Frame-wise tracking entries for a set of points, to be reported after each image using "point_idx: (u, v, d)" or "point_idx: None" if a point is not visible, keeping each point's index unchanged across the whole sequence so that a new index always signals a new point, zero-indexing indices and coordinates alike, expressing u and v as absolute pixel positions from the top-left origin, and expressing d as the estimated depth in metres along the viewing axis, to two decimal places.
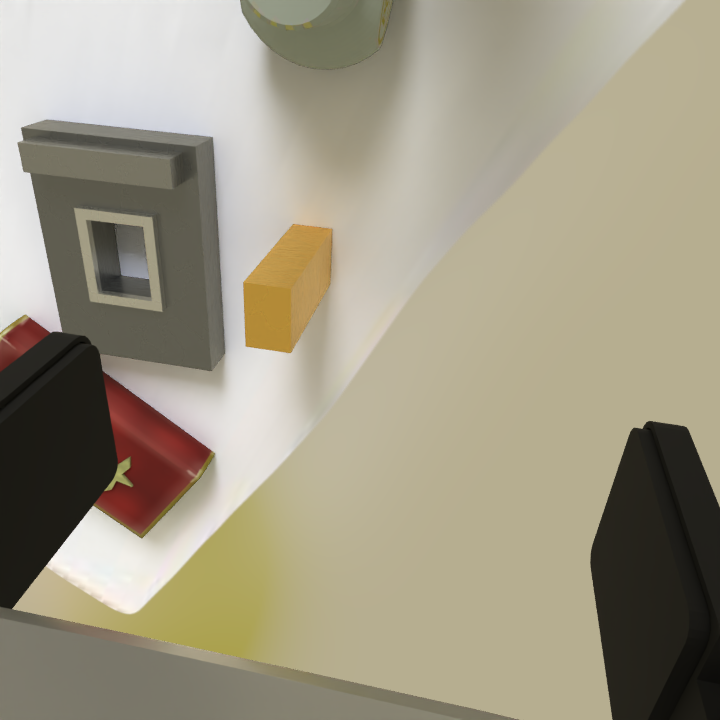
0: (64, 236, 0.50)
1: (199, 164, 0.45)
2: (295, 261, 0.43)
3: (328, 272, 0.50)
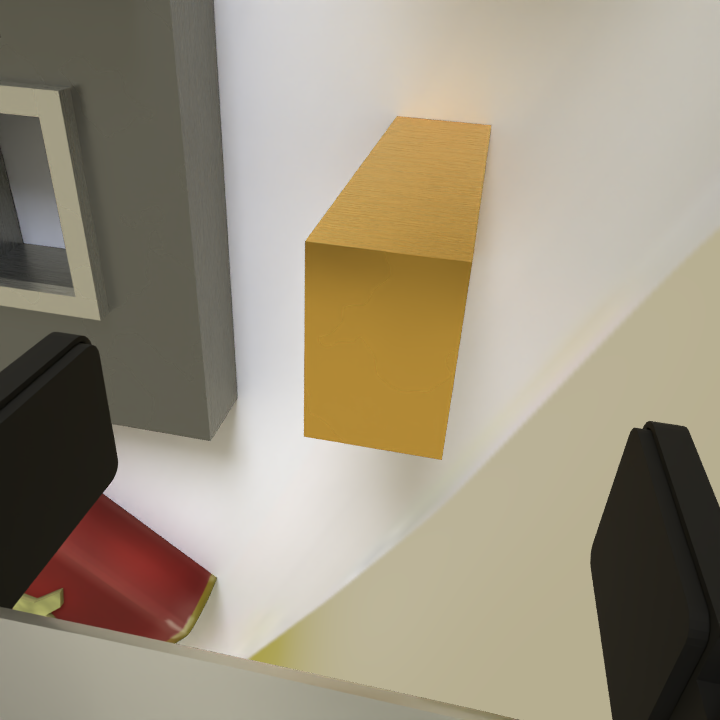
0: None
1: None
2: (443, 186, 0.15)
3: None
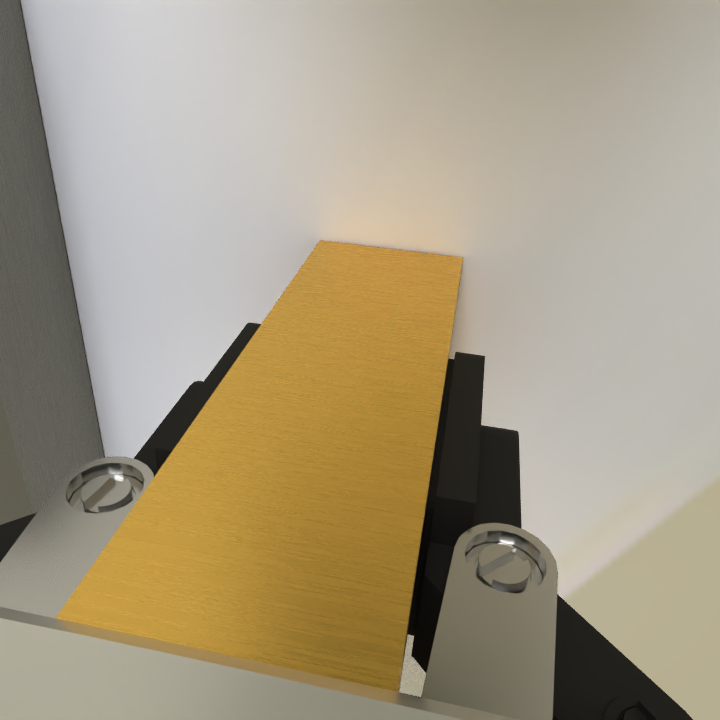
0: None
1: None
2: (354, 462, 0.08)
3: None
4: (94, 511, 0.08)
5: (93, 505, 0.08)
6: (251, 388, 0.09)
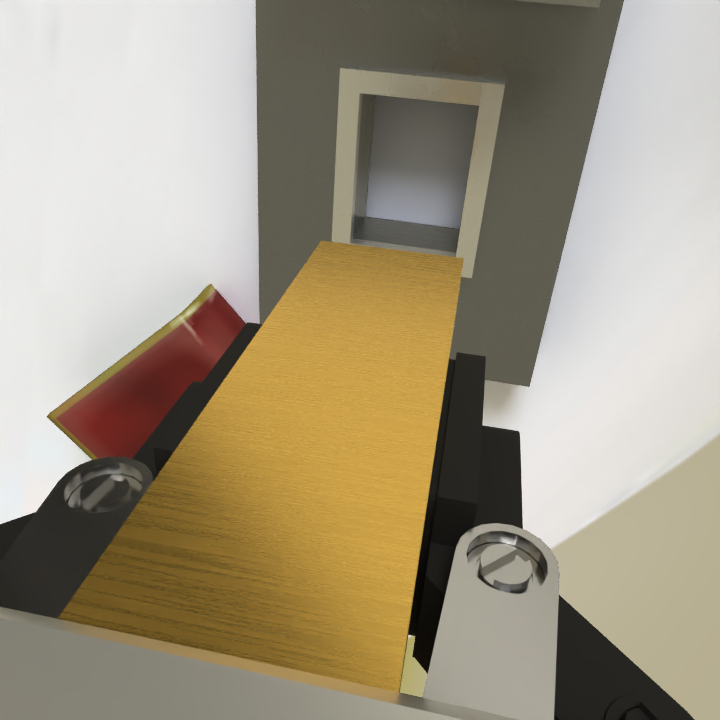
0: (300, 133, 0.26)
1: None
2: (355, 462, 0.08)
3: None
4: (92, 511, 0.08)
5: (91, 505, 0.08)
6: (253, 388, 0.09)
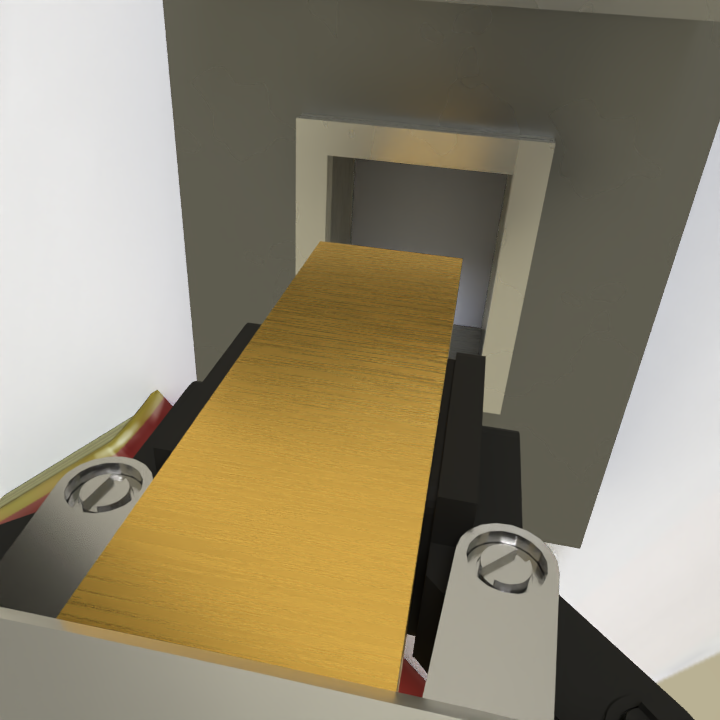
0: (244, 209, 0.18)
1: None
2: (353, 463, 0.08)
3: None
4: (92, 511, 0.08)
5: (91, 505, 0.08)
6: (251, 389, 0.09)
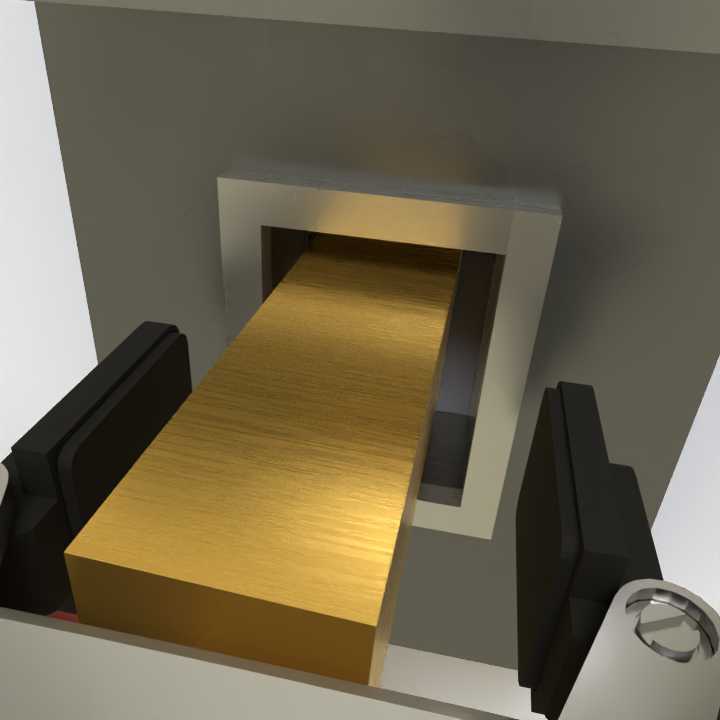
0: (162, 286, 0.14)
1: None
2: (370, 368, 0.09)
3: (444, 360, 0.16)
4: None
5: None
6: (284, 314, 0.11)
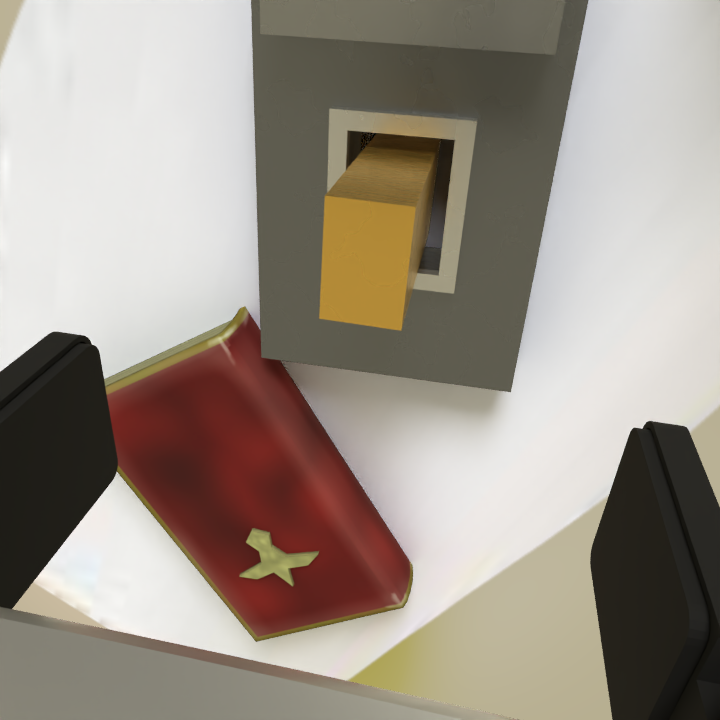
0: (295, 166, 0.29)
1: (583, 17, 0.25)
2: (404, 172, 0.25)
3: (430, 211, 0.31)
4: None
5: None
6: (366, 160, 0.26)
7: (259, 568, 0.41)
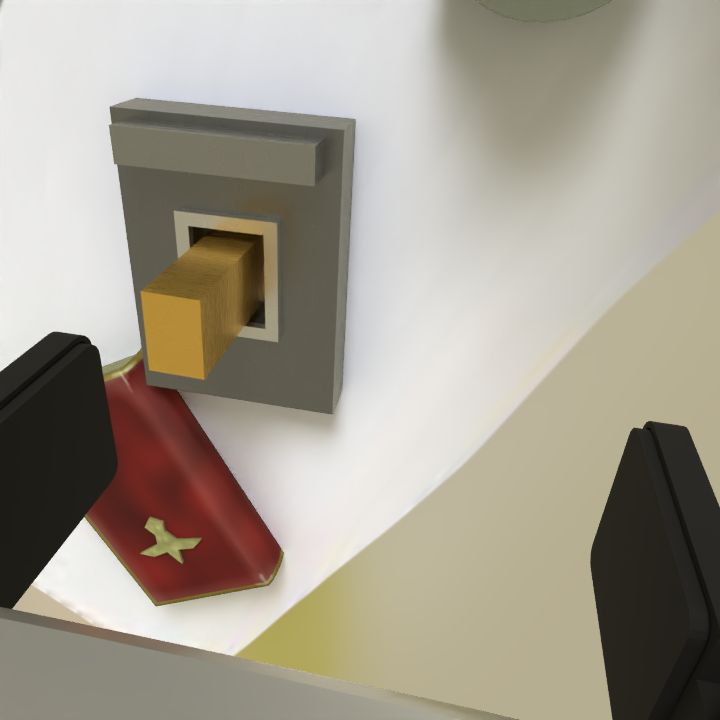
0: (156, 247, 0.39)
1: (344, 154, 0.35)
2: (214, 265, 0.35)
3: None
4: None
5: None
6: (194, 252, 0.36)
7: (156, 548, 0.52)
